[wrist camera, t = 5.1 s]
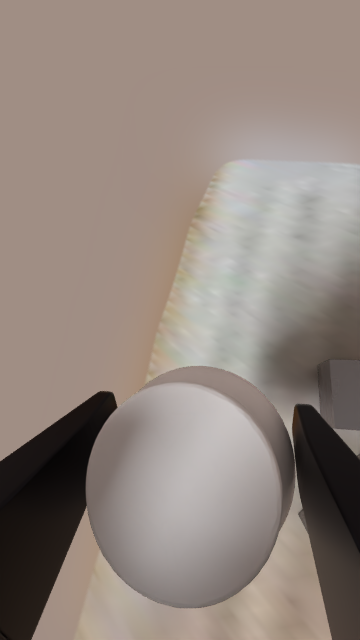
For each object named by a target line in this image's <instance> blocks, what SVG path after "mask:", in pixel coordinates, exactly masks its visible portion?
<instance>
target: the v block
mask: <svg viewBox="0 0 360 640" xmlns="http://www.w3.org/2000/svg"><path fill="white" fill-rule="evenodd" d="M318 381H319V397H320V413H321V416H322V417H323V418H324V420H325V421H326V422H327V423H328V424H329V425H330V426H331V428H335V429H348V430H360V360H338V359H329V360H327V361H325V362H323V363H321V364H319V365H318ZM357 457H358V458H359V459H360V454H359V455H358V456H357ZM298 515H299V517H300V519H301V521H302V523H303V525H304V527H305V529H306V530H307V532H308V529H307V525H306V520H305V516H304V511H303V510H302V511H301V512H300V513H299V514H298Z"/></svg>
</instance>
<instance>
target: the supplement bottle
mask: <svg viewBox="0 0 360 640" xmlns="http://www.w3.org/2000/svg"><path fill="white" fill-rule="evenodd" d="M294 488H295V459H294V453H293V448H292V444H291V440H290V437H289V434H288V431H287V429H286V427H285V425H284V422H283V420H282V418H281V417H280V415H279V413H278V412H277V410H276V409H275V407H274V406H273V404H272V403H271V402H270V401H269V400H268V399H267V398H266V396H265V395H264V394H263V393H262V392H261V391H259V390H258V389H257V388H256V387H255V386H254V385H252V384H251V383H250V382H248V381H247V380H245V379H243V378H242V377H240V376H238V375H235V374H233V373H231V372H228V371H225V370H222V369H218V368H213V367H206V366H191V367H183V368H179V369H175V370H172V371H169V372H166V373H164V374H162V375H160V376H158V377H156V378H155V379H153V380H151V381H150V382H149V383H147V384H146V385H145V386H144V387H142V388H141V389H140V390H139V391H138V392H137V393H136V394H134V395H133V396H131V397H129V398H128V399H127V400H126V401H124V402H123V403H122V404H121V405H120V406H119V407H118V408H117V409H116V410H115V411H114V412H113V413H112V414H111V415H110V417H109V418H108V419H107V421H106V422H105V424H104V425H103V427H102V429H101V431H100V432H99V434H98V436H97V438H96V440H95V443H94V446H93V448H92V451H91V455H90V458H89V462H88V467H87V475H86V503H87V510H88V515H89V519H90V524H91V528H92V530H93V534H94V536H95V539H96V542H97V544H98V546H99V548H100V550H101V552H102V554H103V556H104V557H105V558H106V560H107V561H108V563H109V564H110V566H111V567H112V569H113V570H114V571H115V572H116V573H117V575H118V576H119V577H120V578H121V579H122V580H123V581H124V582H125V583H126V584H128V585H129V586H130V587H131V588H133V589H134V590H135V591H137V592H138V593H140V594H142V595H143V596H145V597H147V598H149V599H151V600H153V601H155V602H158V603H161V604H165V605H168V606H172V607H176V608H201V607H207V606H211V605H215V604H217V603H220V602H223V601H225V600H226V599H228V598H230V597H232V596H234V595H235V594H237V593H238V592H239V591H241V590H242V589H243V588H244V587H246V586H247V585H248V584H249V583H250V582H251V581H252V580H253V579H254V578H255V577H256V576H257V575H258V573H259V572H260V570H261V569H262V568H263V566H264V565H265V563H266V562H267V560H268V558H269V556H270V554H271V552H272V549H273V547H274V545H275V542H276V539H277V536H278V533H279V531H280V529H281V527H282V525H283V524H284V522H285V519H286V517H287V515H288V512H289V510H290V507H291V503H292V499H293V494H294Z"/></svg>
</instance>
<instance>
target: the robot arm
mask: <svg viewBox="0 0 360 640" xmlns="http://www.w3.org/2000/svg"><path fill="white" fill-rule="evenodd" d="M116 409H117V404H116V401H115V397H114V394H113V393H112V392H109V391H100V392H98V393H96V394H95V395H93V396H92V397H91V398H89V399H88V400H86V401H85V402H84V403H82V404H81V405H79V406H78V407H77V408H75V409H74V410H72V411H71V412H69V413H68V414H67V415H65V416H64V417H62V418H61V419H60V420H58V421H57V422H55V423H54V424H53V425H51V426H50V427H48V428H47V429H45V430H44V431H43V432H41V433H40V434H39V435H37V436H35V437H34V438H33V439H31V440H30V441H29V442H27V443H26V444H24V445H23V446H21V447H20V448H19V449H17V450H16V451H14V452H13V453H11V454H10V455H9V456H7V457H6V458H5V459H3V460H2V461H0V640H31V639H32V637H33V634H34V632H35V630H36V627H37V625H38V622H39V620H40V617H41V615H42V613H43V610H44V608H45V605H46V603H47V601H48V598H49V595H50V593H51V591H52V589H53V586H54V584H55V581H56V579H57V576H58V574H59V572H60V569H61V567H62V564H63V562H64V560H65V557H66V555H67V552H68V550H69V547H70V545H71V543H72V540H73V537H74V535H75V533H76V531H77V528H78V526H79V523H80V521H81V519H82V516H83V514H84V511H85V509H86V506H87V503H86V475H87V467H88V462H89V458H90V455H91V451H92V448H93V446H94V443H95V440H96V438H97V436H98V434H99V432H100V431H101V429H102V427H103V425H104V424H105V422H106V421H107V419H108V418H109V417H110V415H111V414H112V413H113V412H114V411H115V410H116ZM292 433H293V443H294V452H295V461H296V471H297V480H298V487H299V493H300V498H301V503H302V507H303V511H304V516H305V520H306V525H307V529H308V534H309V538H310V543H311V547H312V552H313V556H314V561H315V565H316V569H317V574H318V578H319V583H320V587H321V592H322V596H323V601H324V605H325V610H326V614H327V619H328V623H329V627H330V632H331V636H332V640H360V459H359V458H358V457H357V456H356V455H355V454H354V452H353V451H352V450H351V449H350V448H349V447H348V446H347V444H346V443H345V442H344V441H343V440H342V439H341V438H340V437H339V435H338V434H337V433H336V432H335V431H334V430H333V429H332V428H331V426H330V425H329V424H328V423H327V422H326V421H325V420H324V418H323V417H322V416H321V415H320V414H319V413H318V412H317V411H316V409H315V408H314V407H313V406H311V405H309V404H296V405H295V407H294V415H293V424H292Z"/></svg>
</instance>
